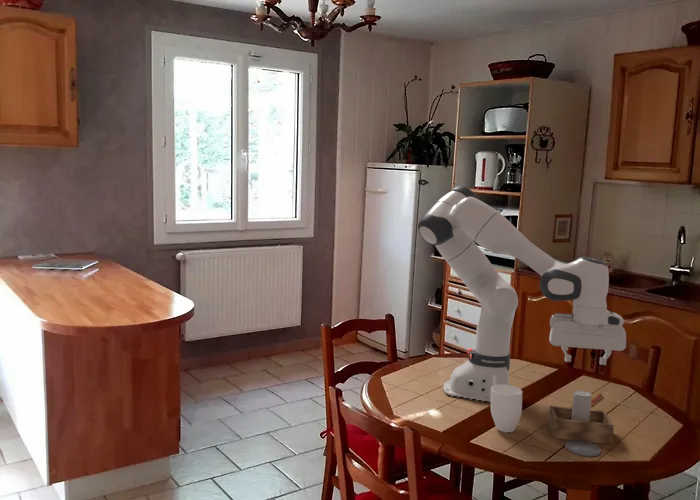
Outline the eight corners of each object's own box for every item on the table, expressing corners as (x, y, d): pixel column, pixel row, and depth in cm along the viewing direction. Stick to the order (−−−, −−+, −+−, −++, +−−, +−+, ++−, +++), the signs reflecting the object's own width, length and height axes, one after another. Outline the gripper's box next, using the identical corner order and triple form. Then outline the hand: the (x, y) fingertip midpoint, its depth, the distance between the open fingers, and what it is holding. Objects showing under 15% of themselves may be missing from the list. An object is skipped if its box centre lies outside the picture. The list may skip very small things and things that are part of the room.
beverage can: (589, 437, 177) (592, 397, 176) (571, 435, 178) (574, 395, 177) (586, 431, 182) (590, 391, 181) (569, 429, 183) (572, 389, 181)
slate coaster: (568, 454, 166) (568, 452, 166) (562, 440, 175) (562, 438, 175) (603, 458, 165) (604, 456, 165) (596, 443, 174) (596, 441, 173)
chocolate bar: (583, 405, 203) (584, 399, 203) (595, 396, 213) (596, 389, 212) (591, 407, 202) (592, 401, 202) (603, 398, 211) (604, 391, 211)
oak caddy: (553, 438, 176) (555, 419, 176) (548, 423, 187) (549, 405, 186) (612, 444, 174) (613, 425, 173) (603, 428, 184) (605, 410, 183)
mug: (520, 437, 176) (522, 396, 175) (488, 433, 179) (489, 392, 177) (521, 421, 187) (523, 382, 186) (491, 418, 190) (492, 379, 188)
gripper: (552, 315, 174) (548, 363, 176) (629, 320, 171) (625, 369, 173) (549, 310, 181) (545, 356, 182) (624, 315, 177) (619, 362, 179)
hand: (585, 362), depth 177 cm, fingers open, 8 cm apart
